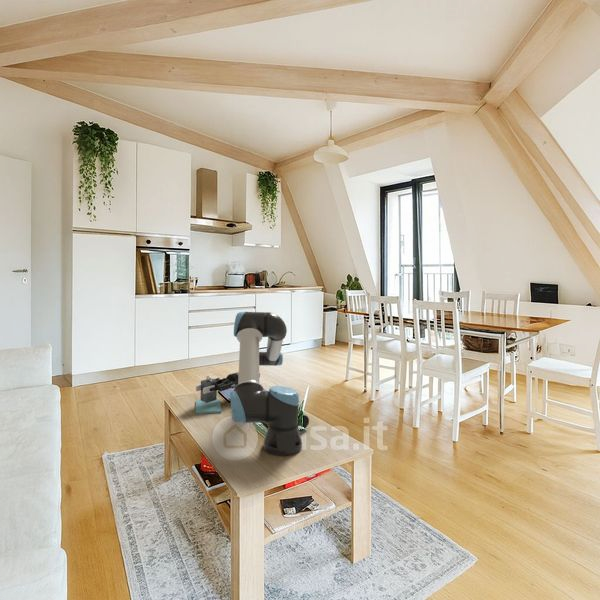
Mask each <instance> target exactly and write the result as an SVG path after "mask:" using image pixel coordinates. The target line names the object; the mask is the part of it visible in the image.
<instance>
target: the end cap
mask: <svg viewBox="0 0 600 600" xmlns="http://www.w3.org/2000/svg"><path fill="white" fill-rule="evenodd" d="M309 423H310V418H309V417H308V415H306V414H304V413H303V427H304V428H305V429H306V428H307V427H308V426H309Z"/></svg>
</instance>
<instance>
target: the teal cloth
mask: <svg viewBox="0 0 600 600" xmlns="http://www.w3.org/2000/svg"><path fill="white" fill-rule="evenodd" d="M195 402H196V403H195V415H207V413H211V414H222V405H221V399H220V398H217V400H214V401H211V402H208V403H206V402H203V401H201V399H195Z"/></svg>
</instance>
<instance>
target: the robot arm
mask: <svg viewBox="0 0 600 600" xmlns="http://www.w3.org/2000/svg"><path fill="white" fill-rule="evenodd" d="M287 332H288V330H287V325H286V323H285V321H284V319H282V317H280V316H279V315H278V314H276V313H273V312H270V311H269V312H267V311H264V312H261V311H239V312H237V314H236V316H235V320H234V326H233V337H236V339H237V341H238V342H239V357H238V360H239V361H238V371H237V372H234V373H233V372H232V373H229V374H228V375H227V376H226V377H223V378H220V377H217V378H213V379H214V380H217V384H215V386H214V385H213V386H209V387H206V388H203V394H206V393H209V392H213V391H217V392H224V391H226V390H230V389H234V390H233V391H231V392H230V394H229V396H230V409H231V410H230V411H231V412H230V413H231V419H232V421H233V422H234V423H237V424H238V423H241V424H246V423H248V424H249V423H251V424H252V423H254V424H255V423H268V428H267V430H266V434H265V436H264V439H263V449H264V451H266V452H267V453H269V454H270V455H271V454H272V455H275V456H291V455H296V454H298V453H299V452H300V451H301V450H302V448H303V440H302V437H301V434H300V431H299V429H298V412H300V410H299V409H300V407H299V406H300V398H299V397H300V395H299V393H298V391H296V389H294V388H291V387H288V386H284V385H283V386H282V385H273V386H271V387H269V389H268V390H264V387H263V386H262V384H260V378H261V373H260V367H261V366H265V367H266V366H273V367H276V366H282V365H283V362H284V361H283V360H284V358H283V356H284V355H283V353H282V347H283V342H284V339H285V338H286V336H287ZM263 338H267V343H266V345H267V346H266V351H260V342H261V341H262V340H263ZM199 391H200V392H201V383H200V384H197V385H195V392H199Z"/></svg>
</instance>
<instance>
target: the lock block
mask: <svg viewBox="0 0 600 600" xmlns="http://www.w3.org/2000/svg"><path fill="white" fill-rule="evenodd" d="M205 378H206V379H204V380H200V384H201V390H200V400H201V401H203V402H206V403H208V402H211V401H214V400H217V399H218V398H217V394H218V393H217V392H218V391H213V392H209V393H206V394H203V388H206V387H209V386H213V385H214V386H215V384H217V380H214V379H215V378H212V376H211V375H208V376H207V375H206V377H205Z"/></svg>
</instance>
